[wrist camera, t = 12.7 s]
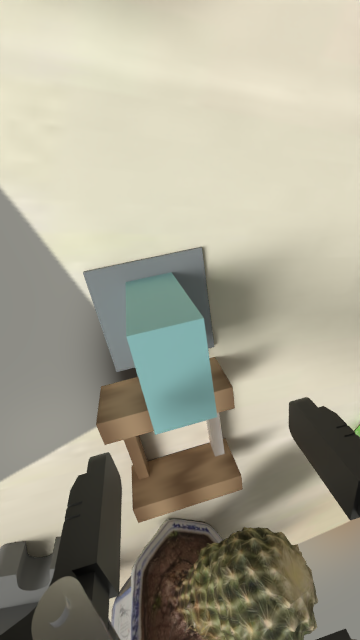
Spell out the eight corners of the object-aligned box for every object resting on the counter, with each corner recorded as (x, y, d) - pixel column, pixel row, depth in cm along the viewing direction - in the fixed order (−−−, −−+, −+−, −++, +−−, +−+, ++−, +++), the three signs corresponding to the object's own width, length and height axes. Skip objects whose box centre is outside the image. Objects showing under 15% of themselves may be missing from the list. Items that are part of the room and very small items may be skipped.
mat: (200, 247, 22) (201, 247, 22) (213, 345, 26) (214, 347, 26) (83, 271, 21) (83, 272, 21) (116, 369, 25) (116, 371, 25)
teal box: (171, 272, 22) (204, 317, 13) (184, 341, 25) (218, 416, 16) (124, 282, 22) (125, 336, 13) (143, 351, 25) (154, 434, 16)
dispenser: (214, 357, 27) (232, 387, 23) (226, 451, 34) (242, 489, 29) (101, 386, 26) (96, 424, 21) (136, 478, 32) (138, 522, 28)
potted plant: (215, 728, 33) (445, 753, 18) (74, 748, 27) (238, 805, 13) (200, 549, 47) (322, 481, 32) (106, 539, 42) (200, 451, 27)
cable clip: (80, 531, 35) (63, 657, 25) (79, 598, 42) (65, 718, 32) (0, 541, 32) (-53, 684, 23) (12, 611, 39) (-25, 743, 30)
